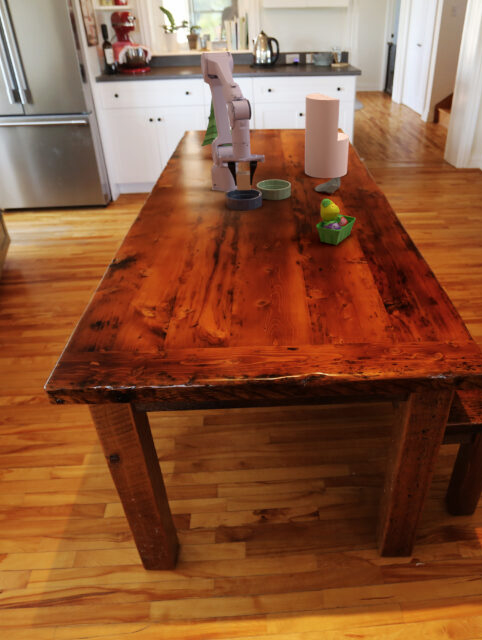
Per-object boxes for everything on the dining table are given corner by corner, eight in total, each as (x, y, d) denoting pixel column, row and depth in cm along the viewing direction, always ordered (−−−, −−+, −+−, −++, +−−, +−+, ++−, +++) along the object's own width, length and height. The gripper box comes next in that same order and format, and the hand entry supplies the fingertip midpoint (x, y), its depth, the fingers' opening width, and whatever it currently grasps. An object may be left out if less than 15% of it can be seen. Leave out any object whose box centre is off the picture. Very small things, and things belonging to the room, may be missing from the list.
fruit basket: (338, 247, 138) (340, 208, 131) (310, 241, 142) (311, 203, 135) (355, 234, 146) (358, 197, 139) (329, 228, 149) (330, 192, 143)
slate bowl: (219, 208, 165) (218, 196, 162) (238, 197, 174) (237, 186, 171) (251, 214, 160) (250, 202, 158) (268, 202, 169) (268, 191, 167)
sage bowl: (251, 198, 173) (250, 187, 171) (267, 188, 182) (266, 177, 180) (281, 203, 168) (281, 191, 166) (296, 193, 177) (296, 182, 175)
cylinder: (316, 180, 190) (318, 101, 174) (297, 169, 203) (298, 94, 187) (354, 174, 196) (360, 97, 180) (334, 164, 209) (337, 91, 193)
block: (237, 190, 162) (236, 175, 159) (237, 186, 165) (236, 171, 162) (250, 189, 162) (249, 174, 159) (250, 185, 166) (249, 170, 163)
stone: (319, 200, 174) (346, 191, 173) (316, 189, 172) (343, 180, 171) (315, 193, 183) (341, 184, 182) (312, 183, 181) (338, 174, 180)
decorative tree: (199, 161, 214) (191, 85, 196) (210, 152, 226) (203, 80, 209) (229, 162, 212) (224, 85, 194) (238, 153, 224) (234, 80, 207)
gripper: (217, 145, 152) (221, 189, 159) (264, 144, 152) (265, 187, 160) (218, 140, 157) (222, 182, 165) (263, 139, 158) (264, 181, 166)
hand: (243, 184), depth 163 cm, fingers closed on block, 4 cm apart
